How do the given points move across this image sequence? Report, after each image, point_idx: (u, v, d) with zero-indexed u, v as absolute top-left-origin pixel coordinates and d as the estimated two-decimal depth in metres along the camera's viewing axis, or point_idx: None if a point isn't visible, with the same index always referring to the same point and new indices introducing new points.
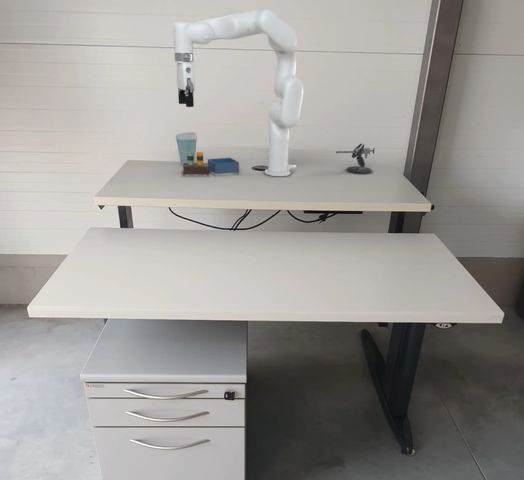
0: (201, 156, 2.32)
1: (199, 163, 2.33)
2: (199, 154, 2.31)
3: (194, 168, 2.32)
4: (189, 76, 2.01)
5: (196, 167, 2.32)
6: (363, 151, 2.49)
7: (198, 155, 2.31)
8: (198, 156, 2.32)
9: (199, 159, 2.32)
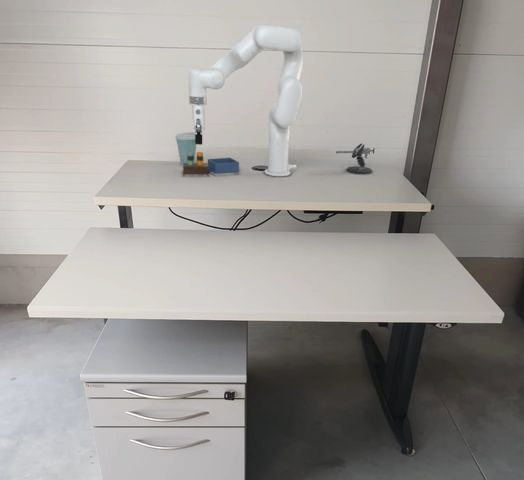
0: (201, 156, 2.32)
1: (199, 163, 2.33)
2: (199, 154, 2.31)
3: (194, 168, 2.32)
4: (198, 117, 2.19)
5: (196, 167, 2.32)
6: (363, 151, 2.49)
7: (198, 155, 2.31)
8: (198, 156, 2.32)
9: (199, 159, 2.32)
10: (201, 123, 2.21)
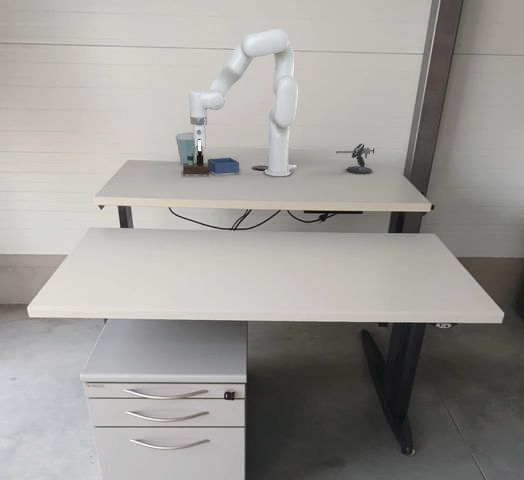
0: None
1: None
2: None
3: (194, 168, 2.32)
4: (199, 137, 2.24)
5: (196, 167, 2.32)
6: (363, 151, 2.49)
7: None
8: None
9: None
10: (202, 147, 2.26)
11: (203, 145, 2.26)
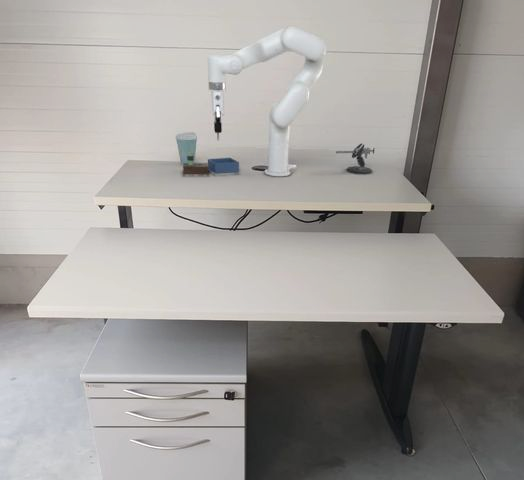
0: None
1: None
2: None
3: (194, 168, 2.32)
4: (218, 103, 2.20)
5: (196, 167, 2.32)
6: (363, 151, 2.49)
7: None
8: None
9: None
10: (221, 113, 2.23)
11: (222, 111, 2.22)
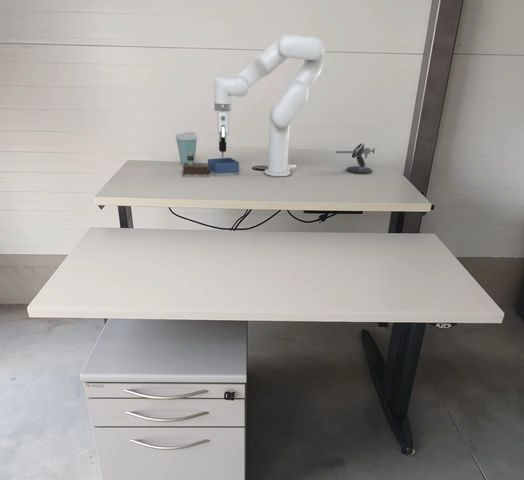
0: None
1: None
2: None
3: (194, 168, 2.32)
4: (223, 123, 2.26)
5: (196, 167, 2.32)
6: (363, 151, 2.49)
7: None
8: None
9: None
10: (226, 133, 2.29)
11: (226, 131, 2.28)
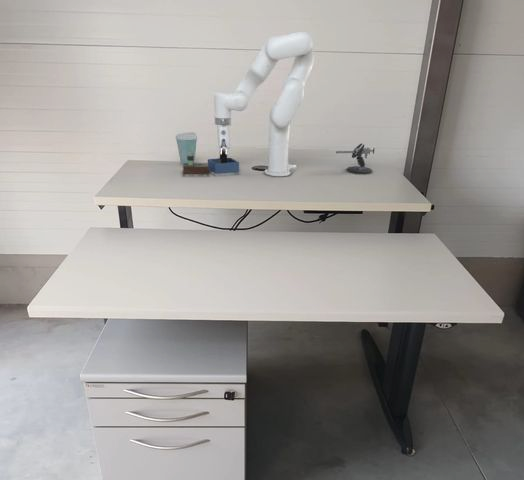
0: None
1: None
2: None
3: (194, 168, 2.32)
4: (224, 137, 2.29)
5: (196, 167, 2.32)
6: (363, 151, 2.49)
7: None
8: None
9: None
10: (226, 144, 2.31)
11: (227, 145, 2.31)
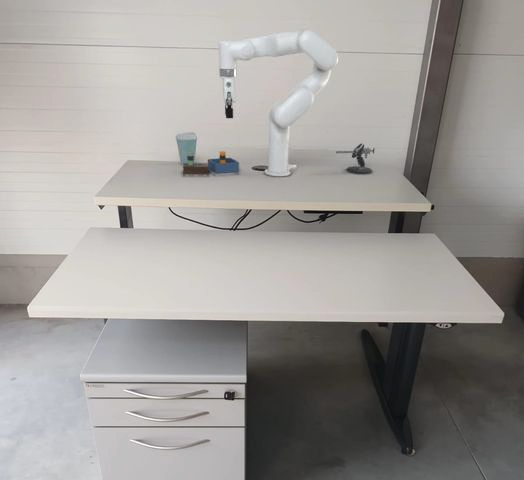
0: (224, 155, 2.37)
1: (222, 162, 2.38)
2: (222, 153, 2.36)
3: (194, 168, 2.32)
4: (229, 90, 2.17)
5: (196, 167, 2.32)
6: (363, 151, 2.49)
7: (221, 154, 2.37)
8: (221, 155, 2.37)
9: (222, 158, 2.37)
10: (232, 96, 2.18)
11: (233, 98, 2.19)
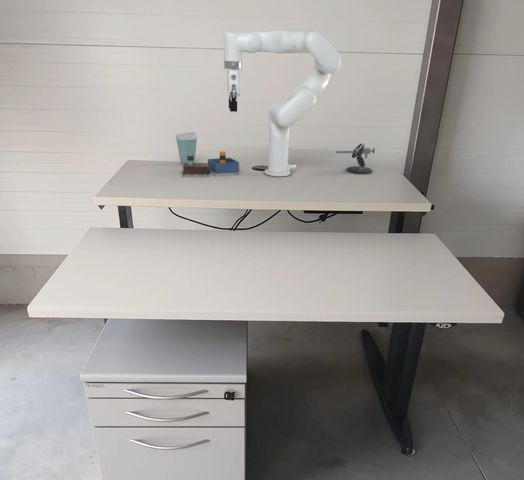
0: (224, 155, 2.37)
1: (222, 162, 2.38)
2: (222, 153, 2.36)
3: (194, 168, 2.32)
4: (234, 83, 2.13)
5: (196, 167, 2.32)
6: (363, 151, 2.49)
7: (221, 154, 2.37)
8: (221, 155, 2.37)
9: (222, 158, 2.37)
10: (236, 89, 2.15)
11: (237, 91, 2.15)
